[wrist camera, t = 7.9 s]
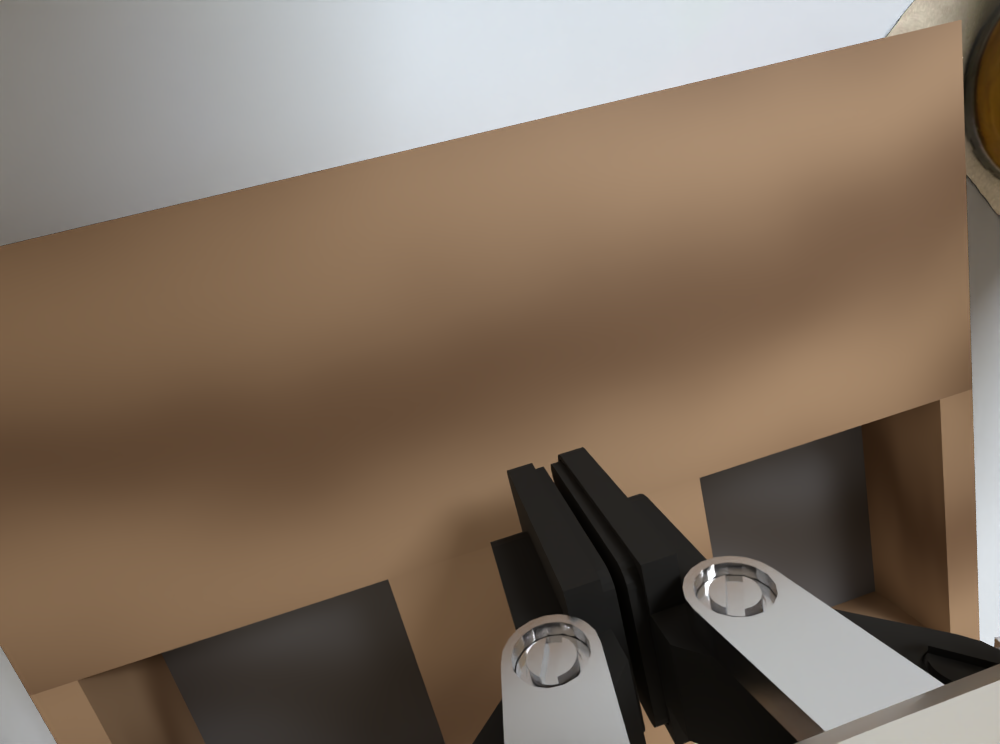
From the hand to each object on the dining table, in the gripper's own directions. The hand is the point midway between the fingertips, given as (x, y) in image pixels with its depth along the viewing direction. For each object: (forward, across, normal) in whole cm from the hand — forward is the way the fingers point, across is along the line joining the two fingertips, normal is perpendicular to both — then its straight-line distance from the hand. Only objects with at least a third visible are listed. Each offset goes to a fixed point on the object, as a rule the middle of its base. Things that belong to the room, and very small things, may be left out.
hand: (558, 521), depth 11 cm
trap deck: (+4, 0, +5) cm, 7 cm away
